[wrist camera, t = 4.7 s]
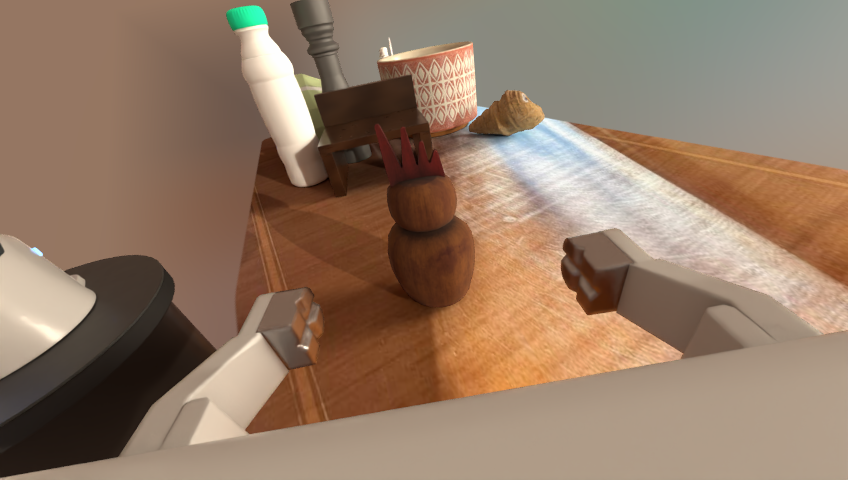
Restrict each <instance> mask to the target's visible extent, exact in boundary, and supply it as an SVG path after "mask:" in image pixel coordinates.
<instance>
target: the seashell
mask: <svg viewBox="0 0 848 480" xmlns="http://www.w3.org/2000/svg"><path fill="white" fill-rule="evenodd" d="M543 119H544V114H543V112H542V109H541V107H540V106H538V105H536V104H534V103H532V102H531V101H530V100H529V98H528V97H527V96H526V95H525V94H524V93H523V92H520V91H508V90H507V91H506V92H505V94H503V95H502V97H501V100H500V101H494V102H493V104H492V105H491V106H490V108H489V109H486V110H485V111H484V112H483V113H482V115H481V116H479V117H477V118H476V120H474V121H473V122H472V124H470V126H469V131H470V132H473V133H477V134H489V133H490V134H502V135H507V136H510V135H512V134H514V133H516V132H519V131H524V130H529V129H533V128H534V127H535V126H536V125H538V124H539V123H540V122H541V121H542V120H543Z"/></svg>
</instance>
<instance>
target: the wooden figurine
mask: <svg viewBox="0 0 848 480" xmlns="http://www.w3.org/2000/svg"><path fill="white" fill-rule="evenodd" d="M374 127H375V131H376V135H377V139H378V142H379V146H380V150H381V154H382V157H383V161H384V165H385V168H386V172H387V175H388V179H389V182H390V186H389V187H388V189H387V202H388V207H389V211H390V213H391V216H392V218H393V219H394V220H395V222H396V223H395V224H394V226H393V227H392V228H391V231H390V233H389V235H388V255H389V259H390V263H391V266H392V269H393V272H394V274H395V276H396V278H397V279H398V281H399V283H400V284H401V286H402V288H403V289H404V290H405V292H406V293H407V294H408V295H409V296H410V297H411V298H412V299H413V300H415V301H416V302H418V303H420V304H422V305H425V306H429V307H445V306H450V305H452V304H454V303H456V302H458V301H460V300H461V299H462V298H463V297H464V296H465V294H466V293H467V291H468V289H469V287H470V283H471V279H472V275H473V271H474V263H475V249H474V239H473V236H472V232H471V230H470V228H469V227H468V225H467V223H465V222H464V221H462V220H461V219H459V218H458V217H456V216H455V215H454V214H455V210H456V206H457V197H456V192H455V188H454V186H453V184H452V182H451V180H450V178H449V177H448V176H447V175H445V174H444V171H443V167H442V164H441V161H440V158H439V155H438V153H437V150H435V149H434V150H433V152H432V155H431V158H430V160H428V157H427V154H426V150H425V147H424V143H423V141H419V147H418V162H416V160H415V157H414V154H413V151H412V148H411V145H410V142H409V139H408V136H407V133H406V130H405V127H401V128H400V131H401V148H402V165H401V164H400V162H399V160H398V158H397V156H396V154H395V152H394V151H393V149H392V147H391V145H390V143H389V141H388V140H387V138H386V136H385V134H384V132H383V130H382V128H381V127H380V125H379V124H375V126H374Z"/></svg>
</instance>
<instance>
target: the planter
mask: <svg viewBox="0 0 848 480" xmlns="http://www.w3.org/2000/svg"><path fill="white" fill-rule="evenodd" d="M377 64H378V68H379V72H380V77H381V80H385V79H390V78H395V77H399V76H404V75H409V74H411V75H412V79H413V85H414V91H415V97H416V103H417V108H418V109H419V111H420V112H421V113H422V114H423V116H424V117H425V118H426V120H427V121H428V122H429V127H430V134H431V137H437V136H442V135H446V134H450V133H453V132H455V131H458V130H460V129H462V128H464V127H465V126H466V125H467V124H468V122H470V121H471V120H473V119H474V118H475V117H476V116H477V103H476V87H475V72H474V56H473V43H472V42H458V43H451V44H444V45H438V46H432V47H427V48H422V49H417V50H412V51H408V52H403V53H399V54H396V55H391V56H388V57H385V58H382V59H380V60H378V61H377ZM408 137H410V138H413V136H412V135H409V136H408Z"/></svg>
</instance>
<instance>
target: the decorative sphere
mask: <svg viewBox="0 0 848 480" xmlns="http://www.w3.org/2000/svg"><path fill="white" fill-rule="evenodd" d="M294 76H295V78H296V80H297V82H298V85H299V87H300V89H301V92H302V94H303V97H304V100H305V102H306V105H307V108H308V111H309V113H310V116H311V119H312V123H313V126H314V130H315V134H316V135H317V137H318V139H319V141H320V139H321V136H322V134H323V131H324V129H325V127H324V124H323V121H322V118H321V115H320V112H319V109H318V107H317V104H316V101H315V98H314V95H315V94H319V93H322V86H321V80H320V79H317V78H314V77H310V76H307V75H304V74H297V75H294Z"/></svg>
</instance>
